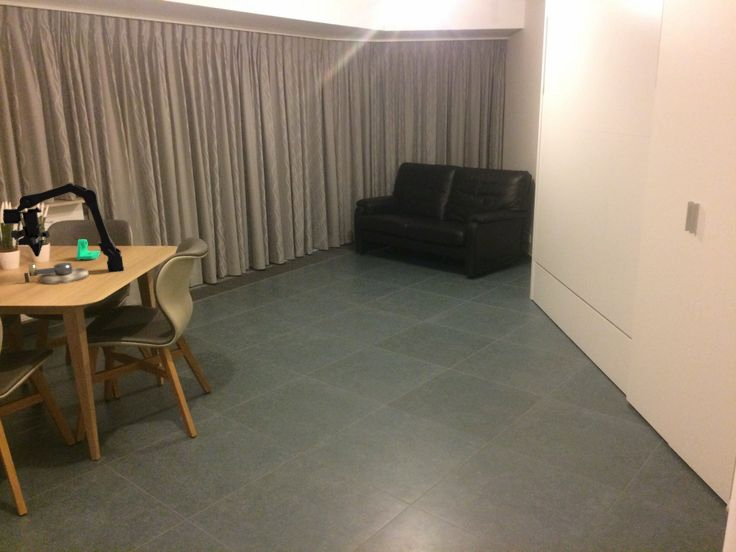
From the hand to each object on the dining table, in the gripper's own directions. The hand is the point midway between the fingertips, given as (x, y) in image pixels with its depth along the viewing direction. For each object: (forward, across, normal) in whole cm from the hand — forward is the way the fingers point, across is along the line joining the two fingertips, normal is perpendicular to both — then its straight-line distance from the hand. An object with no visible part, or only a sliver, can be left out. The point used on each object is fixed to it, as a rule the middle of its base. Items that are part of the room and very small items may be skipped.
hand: (37, 256), depth 260 cm
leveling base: (+10, +4, +9) cm, 14 cm away
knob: (+8, +5, +7) cm, 11 cm away
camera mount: (+10, -36, +10) cm, 38 cm away
